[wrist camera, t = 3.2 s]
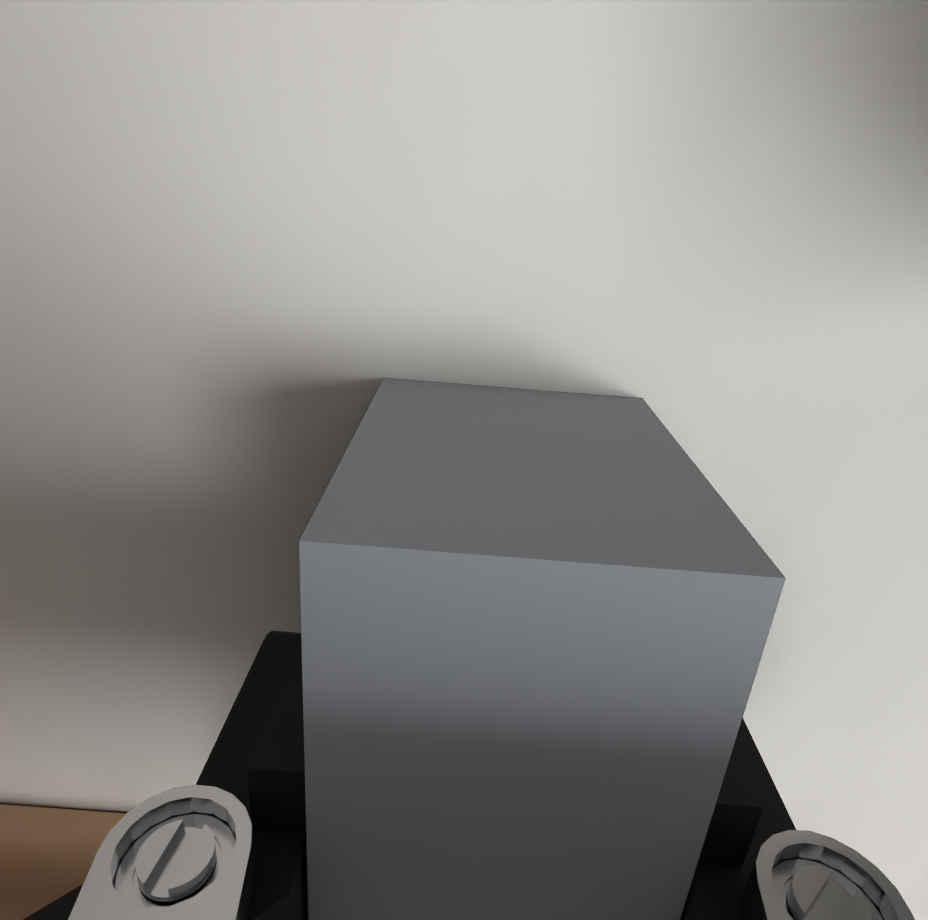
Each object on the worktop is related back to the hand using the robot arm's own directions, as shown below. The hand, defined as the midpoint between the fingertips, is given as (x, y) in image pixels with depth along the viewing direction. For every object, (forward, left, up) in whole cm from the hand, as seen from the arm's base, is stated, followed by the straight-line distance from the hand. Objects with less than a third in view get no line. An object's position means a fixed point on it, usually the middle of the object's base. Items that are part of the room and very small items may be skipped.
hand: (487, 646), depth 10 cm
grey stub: (0, 0, 0) cm, 0 cm away
